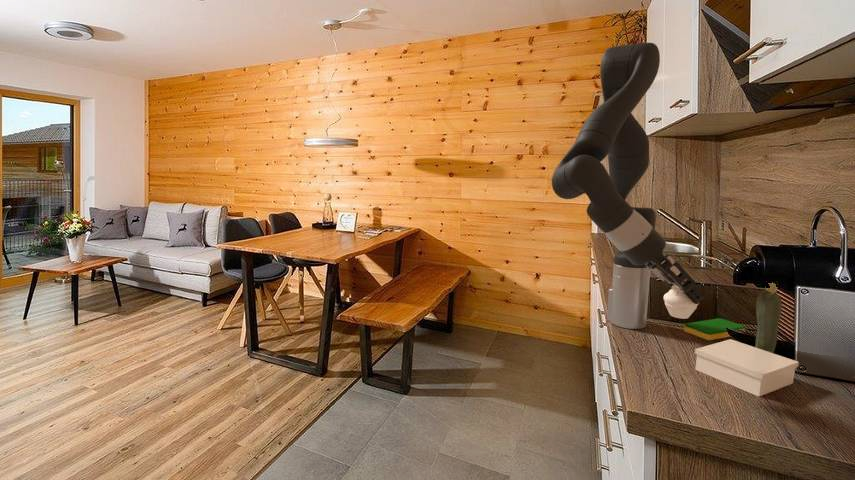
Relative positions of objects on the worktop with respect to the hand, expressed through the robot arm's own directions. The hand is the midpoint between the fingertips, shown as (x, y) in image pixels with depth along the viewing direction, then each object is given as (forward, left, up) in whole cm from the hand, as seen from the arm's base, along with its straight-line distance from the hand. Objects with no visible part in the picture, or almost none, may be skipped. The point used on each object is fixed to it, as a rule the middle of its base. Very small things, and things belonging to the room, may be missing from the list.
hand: (690, 295), depth 81 cm
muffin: (-1, -1, -5) cm, 5 cm away
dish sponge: (-9, +34, -19) cm, 40 cm away
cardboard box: (+6, +12, -18) cm, 23 cm away
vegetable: (+5, +24, -18) cm, 31 cm away
